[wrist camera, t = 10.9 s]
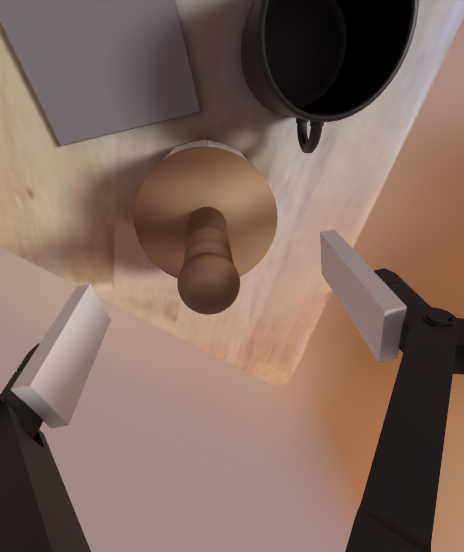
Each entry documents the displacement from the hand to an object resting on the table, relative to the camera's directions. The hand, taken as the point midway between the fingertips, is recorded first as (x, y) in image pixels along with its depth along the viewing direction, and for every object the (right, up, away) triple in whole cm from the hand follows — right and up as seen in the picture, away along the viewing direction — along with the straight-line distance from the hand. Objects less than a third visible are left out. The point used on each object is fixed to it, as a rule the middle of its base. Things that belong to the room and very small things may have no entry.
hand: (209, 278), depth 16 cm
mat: (-9, +19, +6) cm, 22 cm away
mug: (+7, +18, +9) cm, 21 cm away
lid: (-1, +5, +9) cm, 10 cm away
